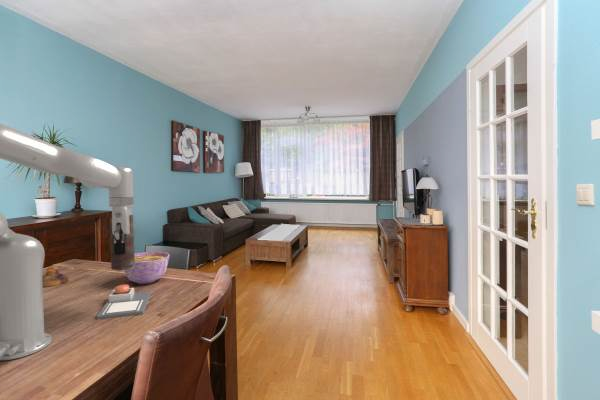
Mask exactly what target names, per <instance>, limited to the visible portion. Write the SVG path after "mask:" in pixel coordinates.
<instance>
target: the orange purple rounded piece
mask: <svg viewBox="0 0 600 400" xmlns="http://www.w3.org/2000/svg"><path fill="white" fill-rule="evenodd" d="M59 271H60V270H59V267H57V266H49V267H47V268H46V273H45V274H44V275H42V288H51V287H57V286H60V285H64V284H67V283H68V282H69V279H70V278H69V277H68V276H67V275H66V274H64V273H60V272H59Z"/></svg>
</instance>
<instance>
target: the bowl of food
mask: <svg viewBox="0 0 600 400" xmlns="http://www.w3.org/2000/svg"><path fill="white" fill-rule="evenodd" d="M134 254H135V269H130V270H129V269H127V270H124V274H125V277H126V278H127V279H128V280H129V281H131V282H133V283H136V284H138V285H148V284H153V283H155V282H156V281H157V280H160V279H161V278H162V277H163V276H164V275H165V274H166V271H167V268H168V265H169V260H170V254H169V252H164V251H145V252H137V253H134Z"/></svg>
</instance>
